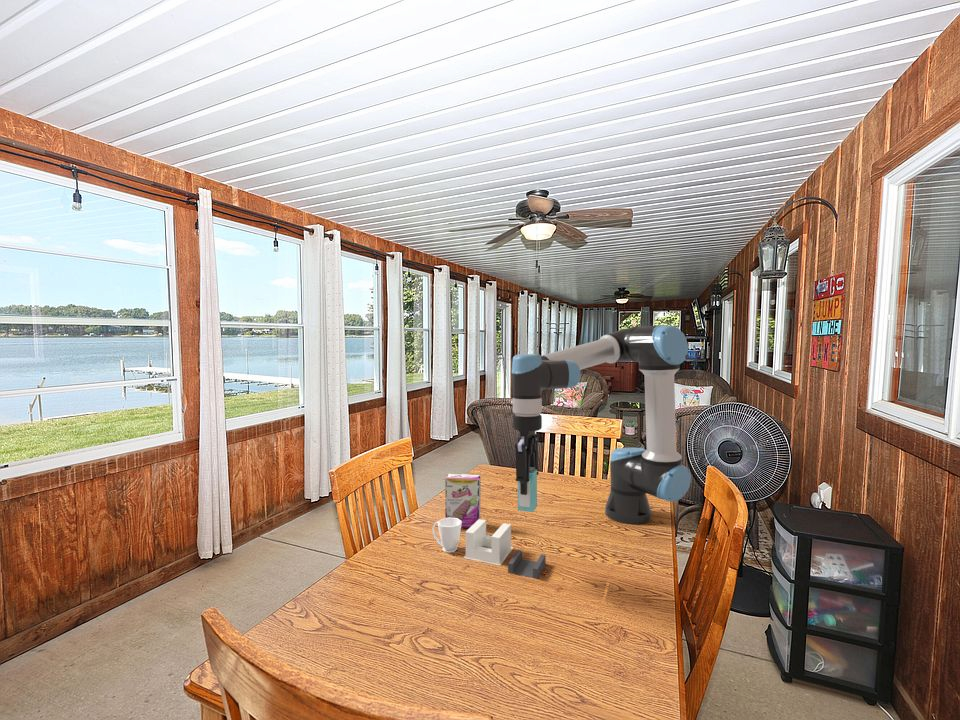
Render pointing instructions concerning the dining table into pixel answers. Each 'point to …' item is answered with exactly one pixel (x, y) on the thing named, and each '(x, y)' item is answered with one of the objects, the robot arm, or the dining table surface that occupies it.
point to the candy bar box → (463, 498)
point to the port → (488, 543)
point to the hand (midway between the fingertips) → (527, 502)
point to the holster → (526, 565)
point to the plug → (531, 491)
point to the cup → (448, 533)
